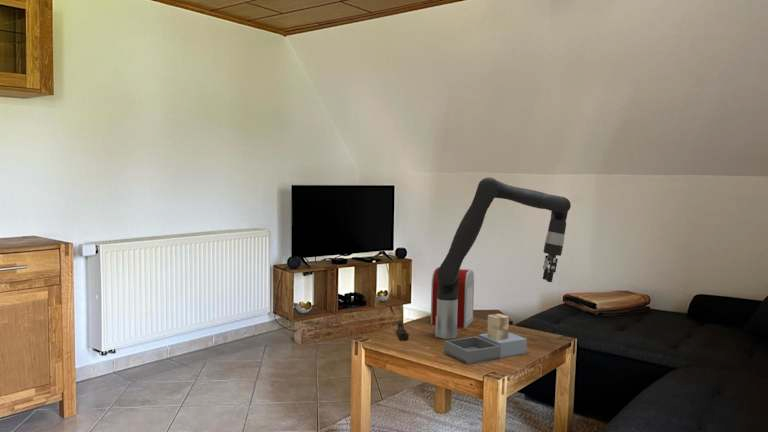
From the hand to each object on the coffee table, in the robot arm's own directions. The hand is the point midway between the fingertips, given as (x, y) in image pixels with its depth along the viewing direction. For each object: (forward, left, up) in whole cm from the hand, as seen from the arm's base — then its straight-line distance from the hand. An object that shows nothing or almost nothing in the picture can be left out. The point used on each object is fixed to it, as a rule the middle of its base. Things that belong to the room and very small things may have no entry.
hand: (547, 280), depth 256 cm
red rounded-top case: (-45, +27, -29) cm, 60 cm away
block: (-19, -15, -22) cm, 33 cm away
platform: (-17, -13, -28) cm, 36 cm away
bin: (-28, -24, -28) cm, 46 cm away
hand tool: (-63, -4, -29) cm, 69 cm away
